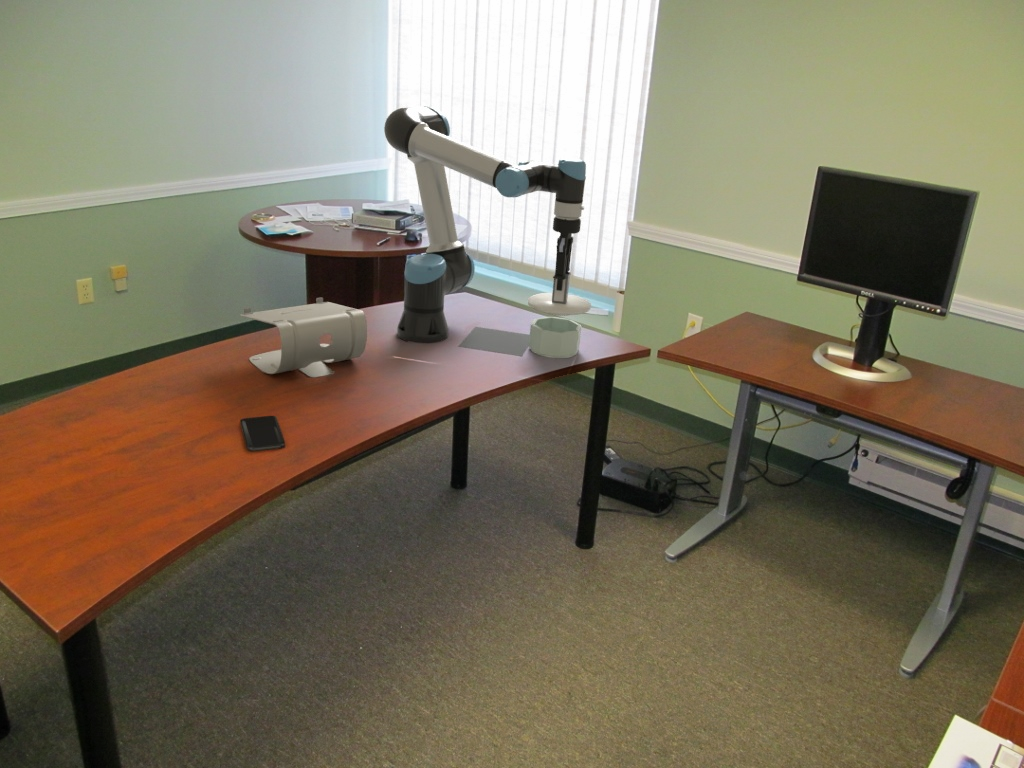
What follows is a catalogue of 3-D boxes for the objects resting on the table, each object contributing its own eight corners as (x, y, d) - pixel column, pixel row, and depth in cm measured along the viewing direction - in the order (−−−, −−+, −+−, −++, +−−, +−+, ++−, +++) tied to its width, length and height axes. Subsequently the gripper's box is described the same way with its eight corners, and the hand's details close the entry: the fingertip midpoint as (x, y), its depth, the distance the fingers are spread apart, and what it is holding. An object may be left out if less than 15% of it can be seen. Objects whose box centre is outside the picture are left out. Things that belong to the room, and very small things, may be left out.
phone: (247, 449, 170) (239, 418, 182) (247, 453, 170) (240, 423, 183) (286, 444, 173) (276, 414, 185) (286, 449, 173) (276, 419, 186)
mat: (457, 347, 236) (457, 346, 236) (475, 327, 254) (475, 326, 253) (521, 357, 233) (521, 356, 233) (535, 336, 250) (535, 335, 250)
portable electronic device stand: (279, 387, 201) (276, 328, 195) (240, 356, 218) (237, 300, 212) (370, 369, 217) (370, 313, 211) (327, 341, 233) (327, 289, 227)
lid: (521, 314, 229) (524, 278, 225) (534, 297, 245) (537, 263, 241) (585, 323, 226) (589, 286, 222) (593, 305, 242) (597, 271, 238)
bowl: (525, 354, 235) (527, 328, 232) (535, 339, 248) (537, 314, 245) (573, 362, 233) (576, 335, 230) (580, 346, 245) (583, 321, 242)
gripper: (576, 223, 217) (568, 308, 226) (585, 213, 232) (577, 293, 241) (548, 220, 218) (541, 305, 227) (559, 210, 233) (551, 290, 242)
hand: (559, 298), depth 234 cm, fingers closed on lid, 3 cm apart
